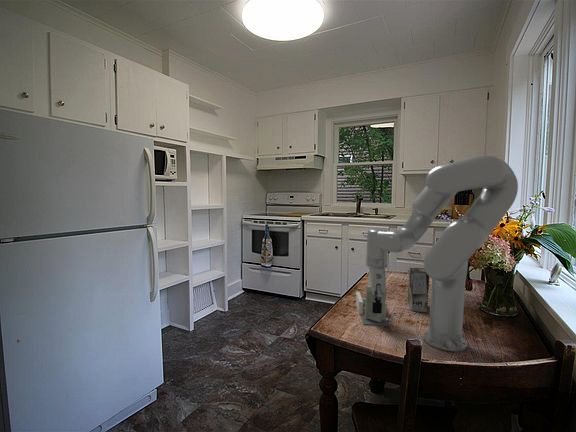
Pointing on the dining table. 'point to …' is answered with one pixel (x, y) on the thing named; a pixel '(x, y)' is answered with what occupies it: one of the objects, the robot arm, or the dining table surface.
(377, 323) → the mat
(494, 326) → the dining table surface
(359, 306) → the rack
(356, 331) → the dining table surface
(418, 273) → the coffee box
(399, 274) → the dining table surface
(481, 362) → the dining table surface
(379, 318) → the skincare box
